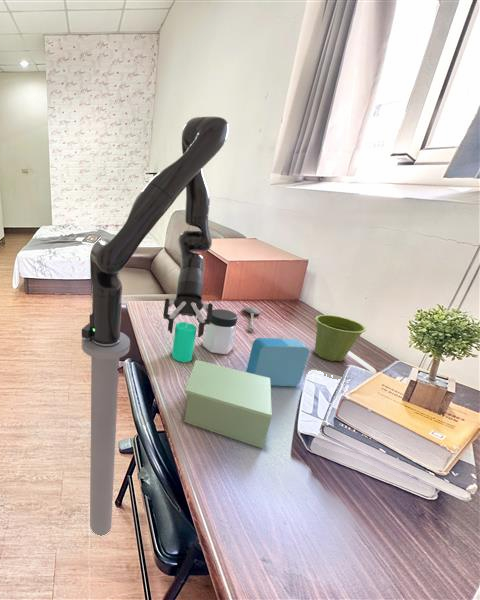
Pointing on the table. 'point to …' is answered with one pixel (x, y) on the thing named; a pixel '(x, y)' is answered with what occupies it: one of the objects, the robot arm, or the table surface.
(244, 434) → the chest
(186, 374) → the table surface
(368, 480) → the table surface
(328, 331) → the plant pot
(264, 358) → the data package
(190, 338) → the candle
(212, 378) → the chest lid
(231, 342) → the jar
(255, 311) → the soupspoon
